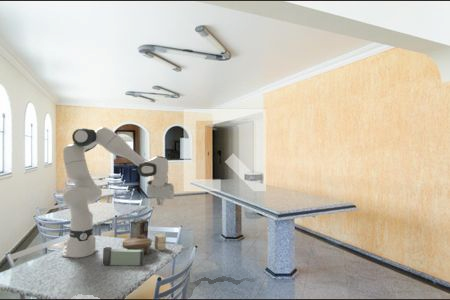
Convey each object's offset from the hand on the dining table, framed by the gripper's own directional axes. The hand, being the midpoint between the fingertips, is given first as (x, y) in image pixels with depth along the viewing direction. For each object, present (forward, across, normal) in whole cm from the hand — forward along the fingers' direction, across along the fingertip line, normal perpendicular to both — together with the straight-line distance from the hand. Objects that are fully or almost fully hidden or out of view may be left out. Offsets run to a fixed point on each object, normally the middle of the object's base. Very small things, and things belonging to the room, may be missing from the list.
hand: (160, 204), depth 171 cm
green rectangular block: (+27, -1, +27) cm, 39 cm away
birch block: (+28, +1, -2) cm, 28 cm away
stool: (+27, +3, +14) cm, 31 cm away
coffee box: (+28, +14, +4) cm, 31 cm away
